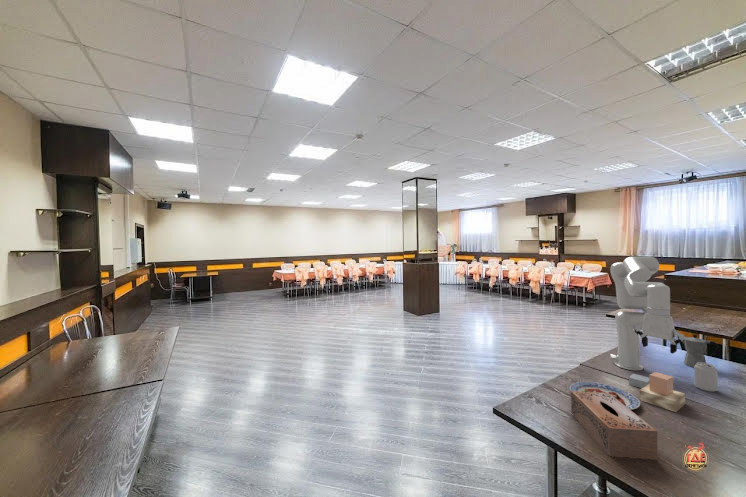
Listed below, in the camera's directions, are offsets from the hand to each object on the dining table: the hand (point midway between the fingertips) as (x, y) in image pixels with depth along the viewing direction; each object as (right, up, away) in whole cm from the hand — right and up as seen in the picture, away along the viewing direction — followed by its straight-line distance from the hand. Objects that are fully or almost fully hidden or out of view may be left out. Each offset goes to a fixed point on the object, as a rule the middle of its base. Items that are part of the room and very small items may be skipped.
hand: (658, 349), depth 137 cm
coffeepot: (+56, -22, +35) cm, 69 cm away
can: (+32, -22, +9) cm, 40 cm away
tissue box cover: (-41, -25, -23) cm, 53 cm away
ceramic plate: (-23, -24, +3) cm, 34 cm away
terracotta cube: (0, -19, -1) cm, 18 cm away
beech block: (0, -24, -2) cm, 24 cm away
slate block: (+4, -23, +14) cm, 27 cm away
